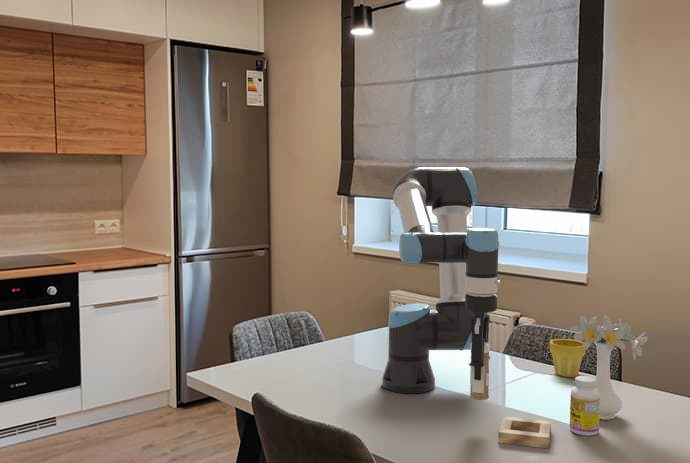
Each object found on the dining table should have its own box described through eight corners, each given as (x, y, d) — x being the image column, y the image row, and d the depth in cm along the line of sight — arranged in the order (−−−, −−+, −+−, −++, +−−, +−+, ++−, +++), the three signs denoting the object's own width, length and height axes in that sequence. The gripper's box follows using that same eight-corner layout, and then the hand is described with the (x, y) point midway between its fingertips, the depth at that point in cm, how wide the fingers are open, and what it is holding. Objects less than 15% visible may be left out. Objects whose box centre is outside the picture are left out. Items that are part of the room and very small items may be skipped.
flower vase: (640, 430, 168) (643, 327, 166) (561, 417, 178) (563, 318, 176) (648, 414, 180) (651, 317, 177) (573, 402, 189) (576, 310, 187)
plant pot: (580, 369, 220) (581, 338, 220) (588, 379, 210) (589, 346, 209) (546, 368, 222) (547, 338, 221) (552, 378, 211) (553, 346, 210)
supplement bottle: (565, 426, 171) (566, 374, 170) (591, 426, 172) (593, 374, 171) (576, 437, 164) (577, 383, 163) (604, 436, 165) (605, 382, 164)
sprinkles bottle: (492, 398, 170) (494, 343, 169) (478, 402, 168) (480, 346, 166) (479, 393, 174) (480, 339, 173) (465, 396, 172) (466, 342, 170)
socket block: (498, 442, 161) (498, 431, 161) (503, 426, 172) (503, 416, 171) (548, 448, 158) (548, 437, 157) (550, 431, 168) (551, 421, 168)
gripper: (492, 301, 159) (490, 402, 161) (501, 287, 175) (499, 379, 178) (459, 299, 161) (457, 398, 164) (470, 286, 178) (469, 376, 180)
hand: (479, 388), depth 171 cm, fingers closed on sprinkles bottle, 4 cm apart
